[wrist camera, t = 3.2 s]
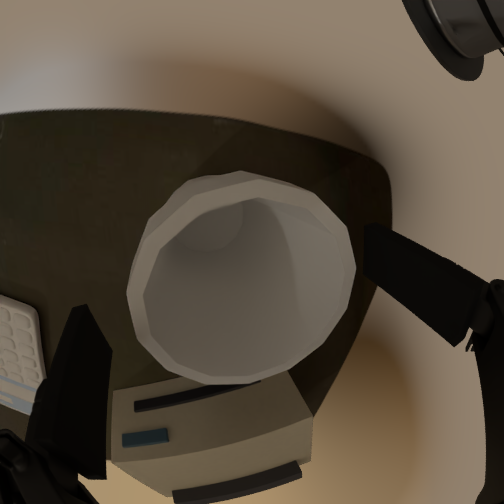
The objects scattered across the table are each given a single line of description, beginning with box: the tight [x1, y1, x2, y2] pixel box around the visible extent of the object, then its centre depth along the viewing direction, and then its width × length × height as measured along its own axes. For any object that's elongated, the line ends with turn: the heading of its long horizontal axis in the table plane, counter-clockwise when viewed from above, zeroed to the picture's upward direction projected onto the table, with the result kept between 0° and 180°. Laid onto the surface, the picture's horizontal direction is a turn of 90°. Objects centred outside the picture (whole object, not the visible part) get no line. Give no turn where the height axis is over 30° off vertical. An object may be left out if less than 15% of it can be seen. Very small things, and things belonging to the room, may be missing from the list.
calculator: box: [0, 295, 47, 415], centre depth 19 cm, size 13×20×2 cm, turn 159°
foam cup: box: [126, 171, 356, 385], centre depth 16 cm, size 10×9×13 cm
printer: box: [111, 370, 313, 504], centre depth 26 cm, size 20×14×12 cm
